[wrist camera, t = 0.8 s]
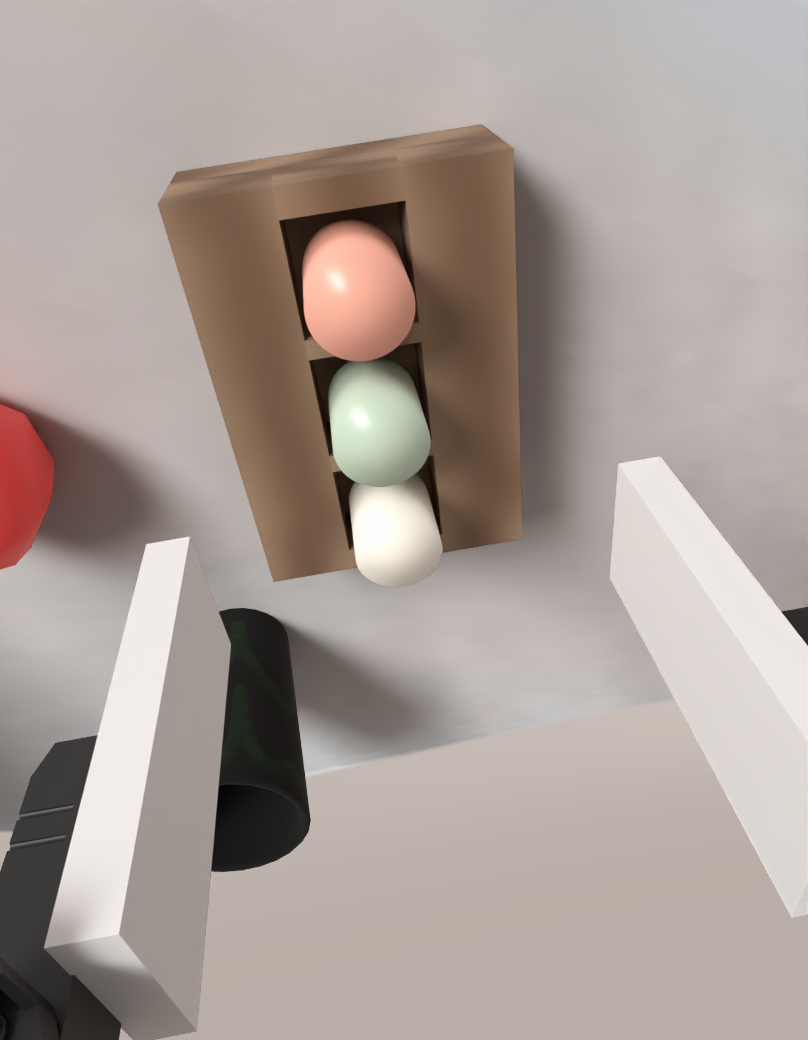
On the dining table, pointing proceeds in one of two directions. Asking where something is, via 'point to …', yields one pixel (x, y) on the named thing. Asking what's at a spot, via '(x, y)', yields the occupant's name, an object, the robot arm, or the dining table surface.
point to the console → (310, 369)
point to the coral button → (356, 291)
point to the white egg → (394, 532)
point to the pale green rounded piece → (377, 422)
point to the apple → (21, 485)
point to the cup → (259, 749)
